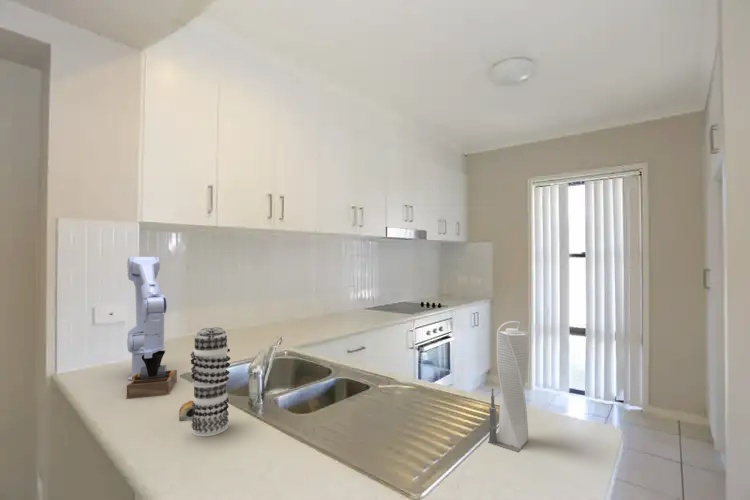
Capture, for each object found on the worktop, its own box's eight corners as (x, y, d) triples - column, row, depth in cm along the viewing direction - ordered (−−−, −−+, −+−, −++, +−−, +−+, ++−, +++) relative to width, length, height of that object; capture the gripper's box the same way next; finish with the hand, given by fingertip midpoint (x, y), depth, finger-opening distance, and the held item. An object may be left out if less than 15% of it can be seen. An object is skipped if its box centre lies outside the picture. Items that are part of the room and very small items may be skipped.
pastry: (179, 410, 107) (179, 396, 107) (205, 406, 110) (205, 393, 110) (179, 423, 99) (179, 408, 99) (207, 418, 102) (207, 404, 102)
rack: (139, 384, 128) (139, 369, 128) (176, 381, 132) (176, 366, 132) (126, 398, 115) (126, 381, 115) (168, 394, 119) (168, 378, 119)
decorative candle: (191, 424, 97) (192, 327, 98) (230, 418, 100) (230, 325, 101) (187, 440, 89) (188, 333, 89) (229, 433, 92) (230, 331, 93)
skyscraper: (501, 431, 94) (500, 318, 94) (535, 441, 88) (533, 321, 89) (487, 443, 87) (486, 322, 88) (523, 455, 82) (522, 326, 83)
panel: (142, 385, 123) (142, 366, 123) (166, 382, 125) (166, 364, 126) (140, 387, 121) (140, 368, 121) (164, 384, 123) (164, 366, 124)
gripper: (146, 330, 129) (145, 370, 129) (133, 338, 116) (132, 383, 115) (169, 329, 132) (168, 368, 131) (159, 337, 118) (158, 380, 117)
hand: (153, 375), depth 123 cm, fingers closed on panel, 2 cm apart
